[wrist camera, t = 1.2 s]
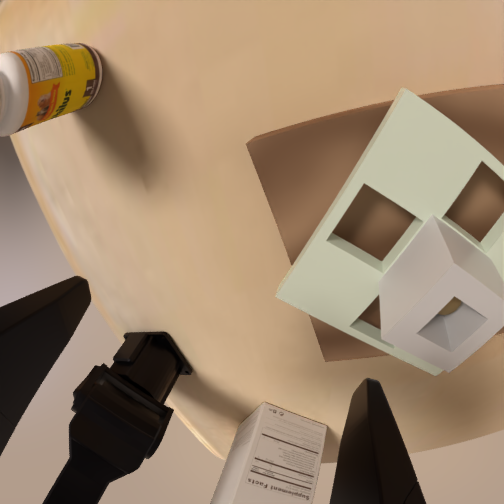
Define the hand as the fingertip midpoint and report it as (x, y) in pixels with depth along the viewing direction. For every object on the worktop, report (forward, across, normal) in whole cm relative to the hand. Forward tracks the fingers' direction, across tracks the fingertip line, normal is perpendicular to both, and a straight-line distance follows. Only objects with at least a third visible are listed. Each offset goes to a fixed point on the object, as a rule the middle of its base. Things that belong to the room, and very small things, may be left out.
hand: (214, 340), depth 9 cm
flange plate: (+11, -10, +1) cm, 14 cm away
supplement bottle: (+14, +18, -5) cm, 23 cm away
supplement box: (+14, -7, +31) cm, 34 cm away
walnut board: (+14, -10, +1) cm, 17 cm away
